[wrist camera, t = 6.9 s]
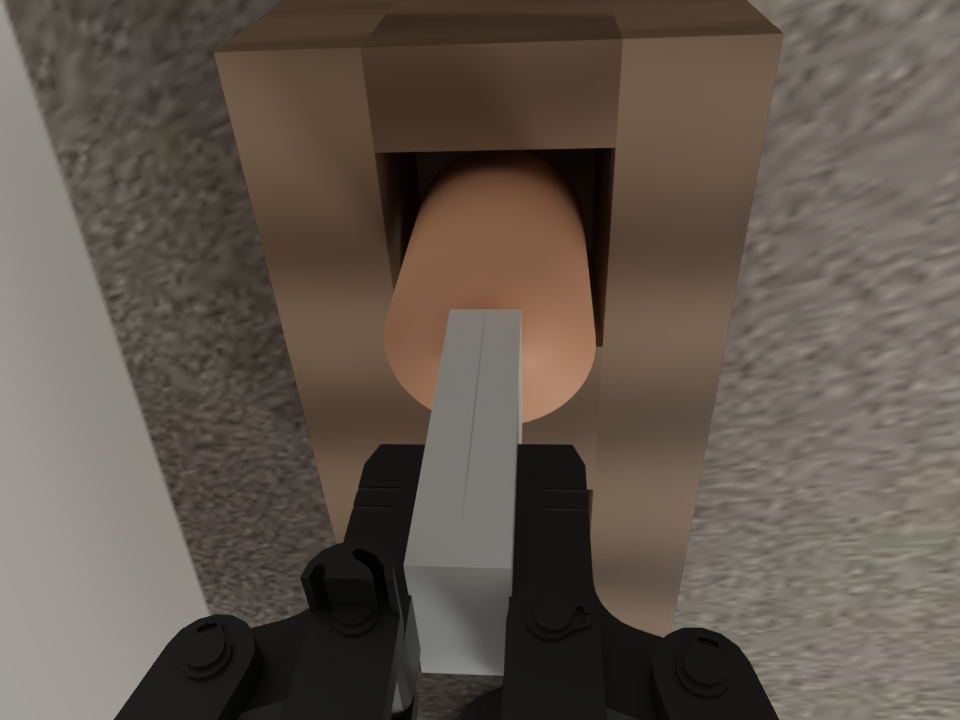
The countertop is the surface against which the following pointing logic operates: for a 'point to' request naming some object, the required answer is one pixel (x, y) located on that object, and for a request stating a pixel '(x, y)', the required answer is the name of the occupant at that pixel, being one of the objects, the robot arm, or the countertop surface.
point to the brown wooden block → (601, 192)
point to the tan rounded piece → (497, 274)
